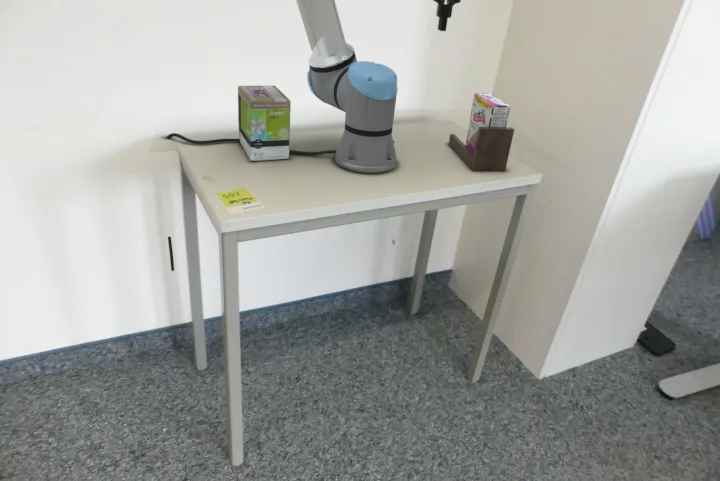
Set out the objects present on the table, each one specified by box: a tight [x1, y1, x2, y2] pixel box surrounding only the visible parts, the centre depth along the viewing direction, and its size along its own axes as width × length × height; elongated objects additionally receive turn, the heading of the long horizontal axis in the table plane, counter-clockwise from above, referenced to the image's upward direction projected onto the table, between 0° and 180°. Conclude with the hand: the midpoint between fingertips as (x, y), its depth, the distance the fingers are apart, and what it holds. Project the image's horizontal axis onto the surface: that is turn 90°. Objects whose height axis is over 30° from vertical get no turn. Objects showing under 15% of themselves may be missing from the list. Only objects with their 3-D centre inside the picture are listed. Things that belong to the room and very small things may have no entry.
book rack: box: [448, 126, 515, 172], centre depth 147 cm, size 9×20×11 cm, turn 10°
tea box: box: [237, 85, 292, 162], centre depth 139 cm, size 15×10×15 cm, turn 22°
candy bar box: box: [465, 92, 511, 154], centre depth 144 cm, size 11×5×16 cm, turn 15°
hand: (441, 30), depth 153 cm, fingers closed
